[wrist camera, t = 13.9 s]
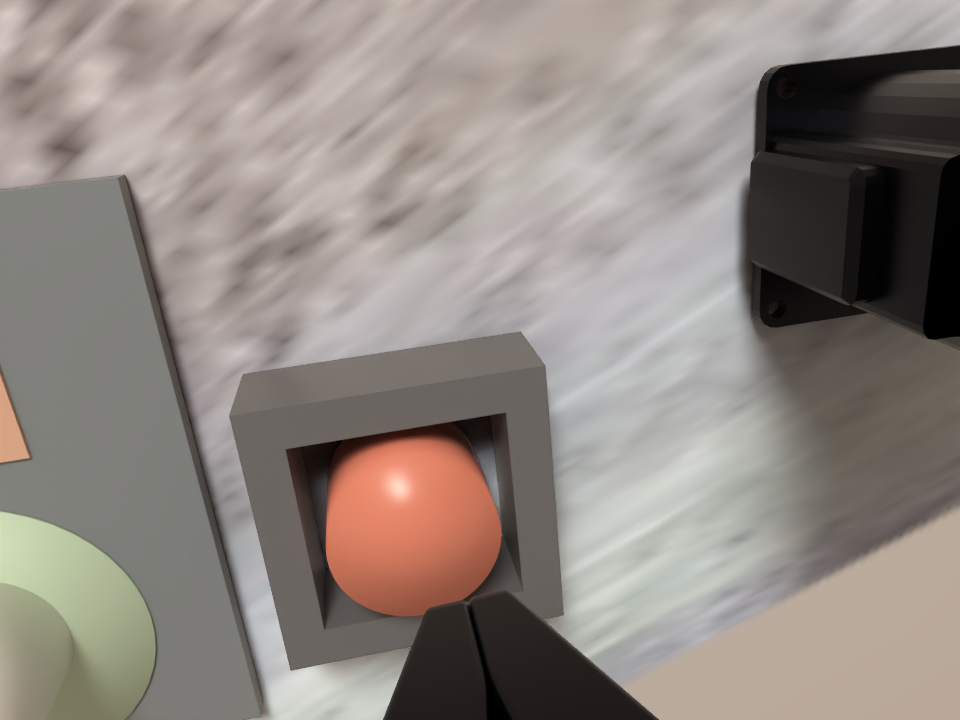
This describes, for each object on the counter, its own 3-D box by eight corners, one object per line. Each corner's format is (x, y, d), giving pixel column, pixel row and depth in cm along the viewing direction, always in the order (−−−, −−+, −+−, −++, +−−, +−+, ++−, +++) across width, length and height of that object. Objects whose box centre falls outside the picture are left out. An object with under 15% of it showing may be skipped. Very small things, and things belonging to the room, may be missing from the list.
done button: (471, 398, 20) (493, 450, 17) (486, 530, 21) (508, 597, 18) (315, 424, 19) (311, 482, 16) (341, 556, 21) (341, 631, 18)
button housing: (520, 331, 20) (544, 365, 17) (540, 559, 22) (563, 615, 20) (242, 374, 19) (229, 415, 16) (295, 606, 21) (290, 670, 19)
